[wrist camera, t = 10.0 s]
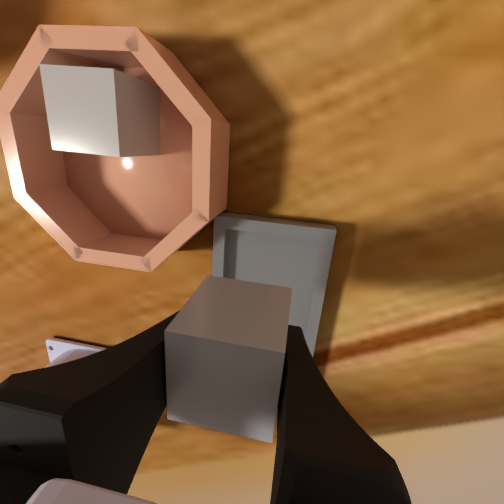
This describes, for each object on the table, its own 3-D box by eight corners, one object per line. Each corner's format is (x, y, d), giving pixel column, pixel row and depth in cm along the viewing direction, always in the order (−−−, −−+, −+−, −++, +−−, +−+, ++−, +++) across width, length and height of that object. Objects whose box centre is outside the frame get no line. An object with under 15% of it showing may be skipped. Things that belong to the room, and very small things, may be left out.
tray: (305, 384, 24) (305, 398, 23) (214, 367, 25) (209, 378, 24) (334, 224, 19) (336, 230, 18) (219, 211, 20) (213, 215, 19)
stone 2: (281, 358, 14) (271, 443, 10) (206, 344, 15) (167, 418, 11) (292, 287, 13) (285, 353, 9) (208, 275, 14) (164, 331, 9)
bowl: (224, 258, 22) (207, 280, 18) (70, 236, 23) (25, 253, 20) (233, 54, 17) (213, 28, 13) (40, 47, 19) (-25, 22, 15)
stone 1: (160, 155, 19) (119, 157, 15) (105, 149, 20) (52, 149, 15) (158, 87, 18) (113, 68, 14) (100, 83, 18) (39, 63, 14)
